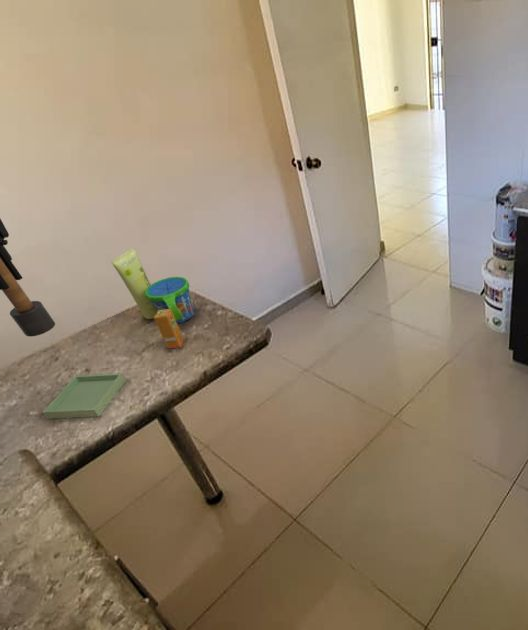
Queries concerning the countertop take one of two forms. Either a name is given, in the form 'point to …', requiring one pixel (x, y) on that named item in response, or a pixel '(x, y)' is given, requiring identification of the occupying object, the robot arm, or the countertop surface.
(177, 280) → the snack cup
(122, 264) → the tube
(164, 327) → the supplement box
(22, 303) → the brush
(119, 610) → the countertop surface
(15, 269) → the robot arm
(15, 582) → the countertop surface
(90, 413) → the tray
